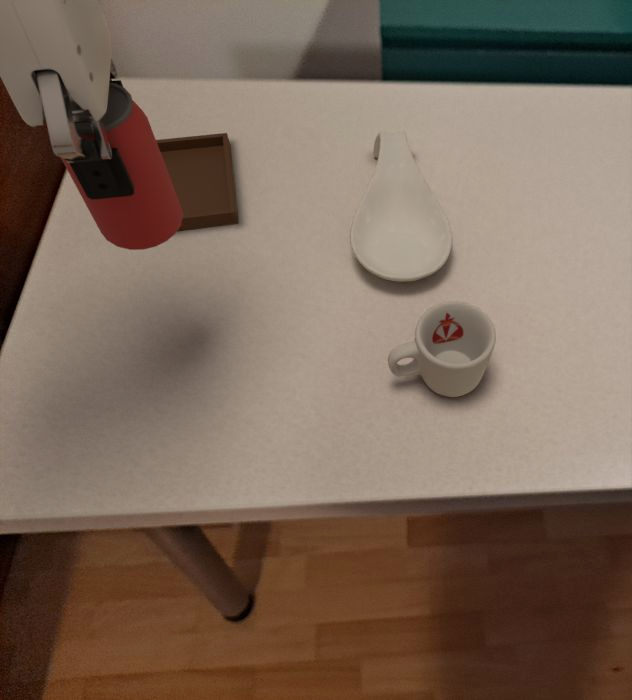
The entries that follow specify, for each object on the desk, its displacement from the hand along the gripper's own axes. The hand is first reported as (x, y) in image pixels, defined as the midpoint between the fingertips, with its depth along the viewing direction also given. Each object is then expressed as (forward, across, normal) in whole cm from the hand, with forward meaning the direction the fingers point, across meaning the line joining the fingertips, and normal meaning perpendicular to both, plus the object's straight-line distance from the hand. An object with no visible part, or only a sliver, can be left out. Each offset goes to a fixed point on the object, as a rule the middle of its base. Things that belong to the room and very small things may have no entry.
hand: (113, 158), depth 52 cm
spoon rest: (+26, -14, +24) cm, 38 cm away
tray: (+26, -24, -1) cm, 35 cm away
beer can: (+7, 0, 0) cm, 7 cm away
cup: (+26, +8, +24) cm, 37 cm away
